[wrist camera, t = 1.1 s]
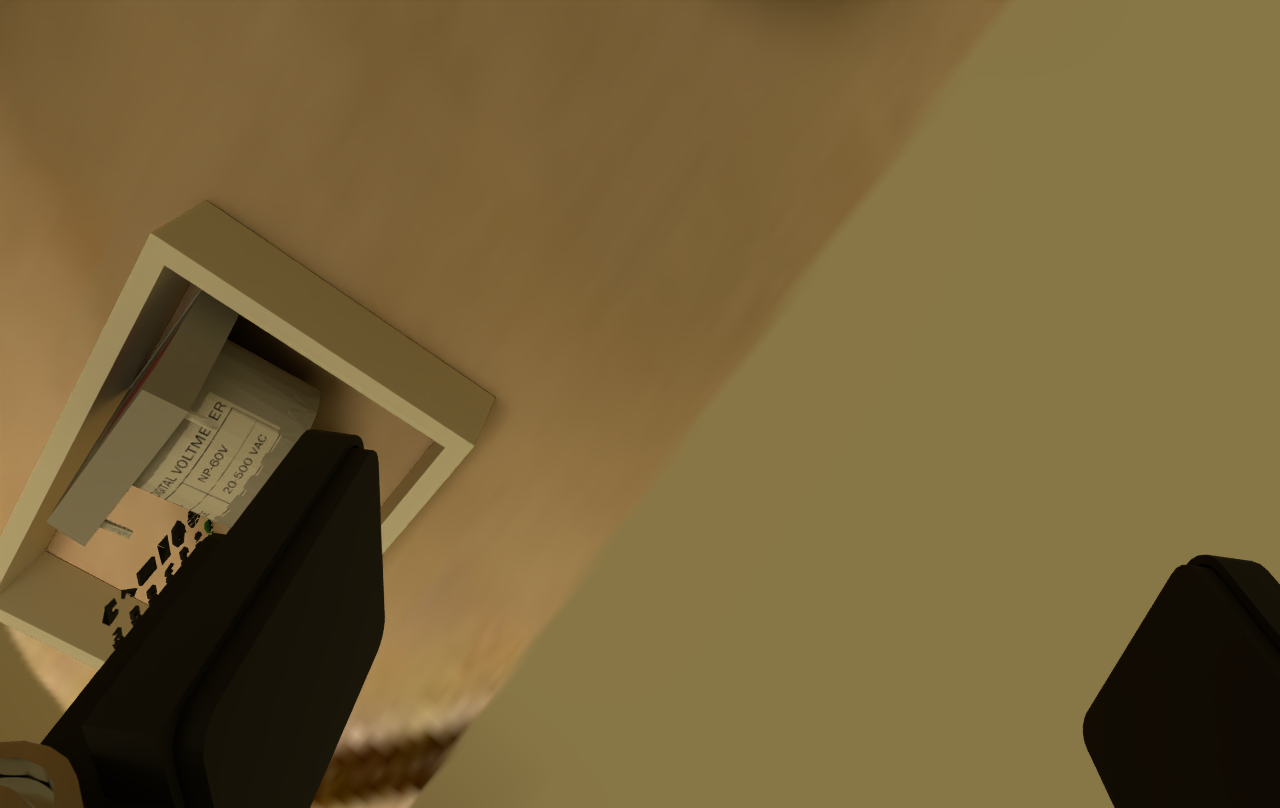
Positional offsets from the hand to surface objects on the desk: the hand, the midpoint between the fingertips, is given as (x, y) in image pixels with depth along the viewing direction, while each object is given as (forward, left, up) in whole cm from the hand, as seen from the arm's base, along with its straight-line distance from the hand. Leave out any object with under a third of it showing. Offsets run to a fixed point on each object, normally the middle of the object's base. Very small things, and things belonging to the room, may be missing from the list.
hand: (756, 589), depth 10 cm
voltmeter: (-8, -32, -29) cm, 44 cm away
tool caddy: (-7, -32, -29) cm, 44 cm away
